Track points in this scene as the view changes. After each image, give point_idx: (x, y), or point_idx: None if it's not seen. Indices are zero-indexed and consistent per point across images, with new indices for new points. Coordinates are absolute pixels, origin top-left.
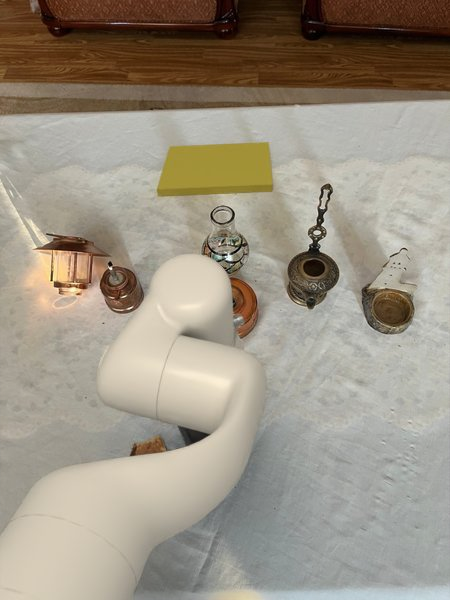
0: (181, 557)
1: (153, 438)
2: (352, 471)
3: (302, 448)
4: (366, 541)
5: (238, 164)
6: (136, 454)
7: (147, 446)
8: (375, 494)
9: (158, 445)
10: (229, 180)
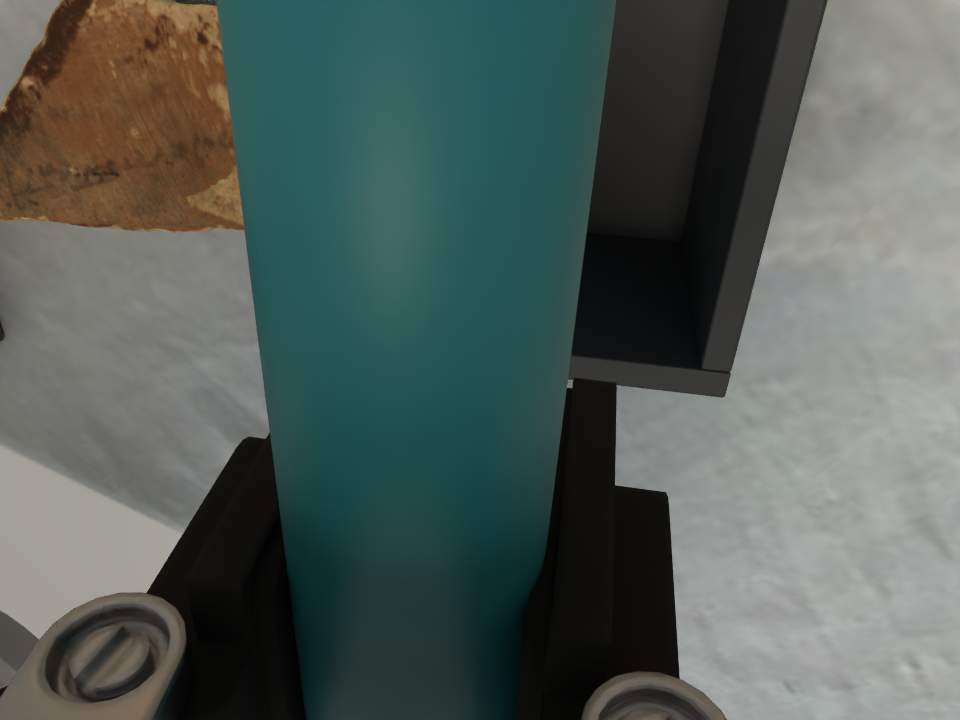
0: (195, 455)
1: (191, 8)
2: (926, 577)
3: (840, 422)
4: (767, 708)
5: None
6: (81, 39)
7: (147, 33)
8: (919, 656)
9: (206, 66)
10: None
